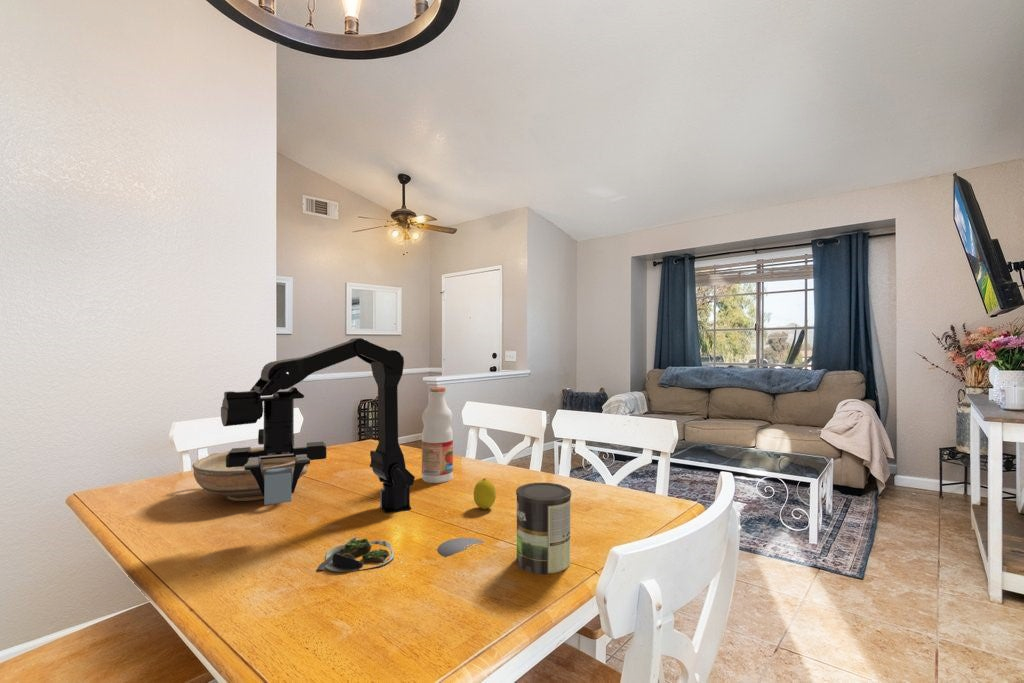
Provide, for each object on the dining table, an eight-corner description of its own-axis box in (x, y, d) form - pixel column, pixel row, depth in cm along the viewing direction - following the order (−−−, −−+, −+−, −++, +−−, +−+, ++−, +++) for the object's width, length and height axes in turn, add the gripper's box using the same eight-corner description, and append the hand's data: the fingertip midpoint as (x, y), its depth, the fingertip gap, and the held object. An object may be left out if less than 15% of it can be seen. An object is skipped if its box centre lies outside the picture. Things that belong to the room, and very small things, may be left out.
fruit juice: (420, 476, 148) (420, 386, 148) (450, 474, 151) (450, 385, 151) (422, 485, 139) (422, 389, 139) (454, 482, 142) (454, 388, 142)
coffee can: (518, 580, 83) (518, 500, 83) (513, 554, 93) (513, 482, 93) (576, 578, 84) (576, 498, 84) (565, 552, 94) (565, 481, 94)
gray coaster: (478, 537, 102) (478, 534, 102) (495, 556, 92) (495, 553, 92) (432, 545, 98) (432, 542, 98) (445, 566, 88) (445, 563, 88)
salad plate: (323, 547, 98) (323, 530, 98) (391, 539, 101) (391, 523, 101) (316, 582, 83) (316, 562, 83) (395, 571, 87) (395, 552, 87)
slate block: (291, 494, 104) (291, 467, 104) (291, 501, 99) (291, 472, 99) (266, 497, 102) (266, 469, 102) (264, 504, 97) (264, 475, 97)
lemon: (492, 515, 115) (492, 482, 115) (470, 513, 116) (470, 480, 116) (498, 507, 120) (498, 475, 120) (477, 505, 121) (476, 474, 121)
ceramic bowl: (158, 499, 127) (158, 461, 127) (257, 472, 152) (257, 441, 152) (249, 521, 111) (249, 478, 111) (342, 488, 136) (342, 453, 136)
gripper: (324, 413, 112) (324, 479, 112) (233, 418, 104) (233, 489, 104) (326, 420, 102) (326, 493, 102) (225, 426, 94) (225, 505, 94)
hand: (278, 494), depth 101 cm, fingers closed on slate block, 5 cm apart
